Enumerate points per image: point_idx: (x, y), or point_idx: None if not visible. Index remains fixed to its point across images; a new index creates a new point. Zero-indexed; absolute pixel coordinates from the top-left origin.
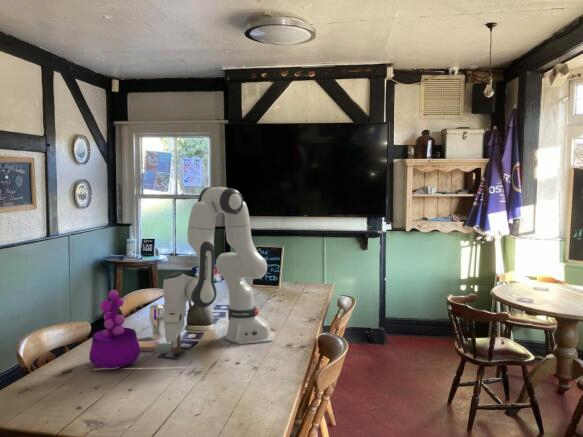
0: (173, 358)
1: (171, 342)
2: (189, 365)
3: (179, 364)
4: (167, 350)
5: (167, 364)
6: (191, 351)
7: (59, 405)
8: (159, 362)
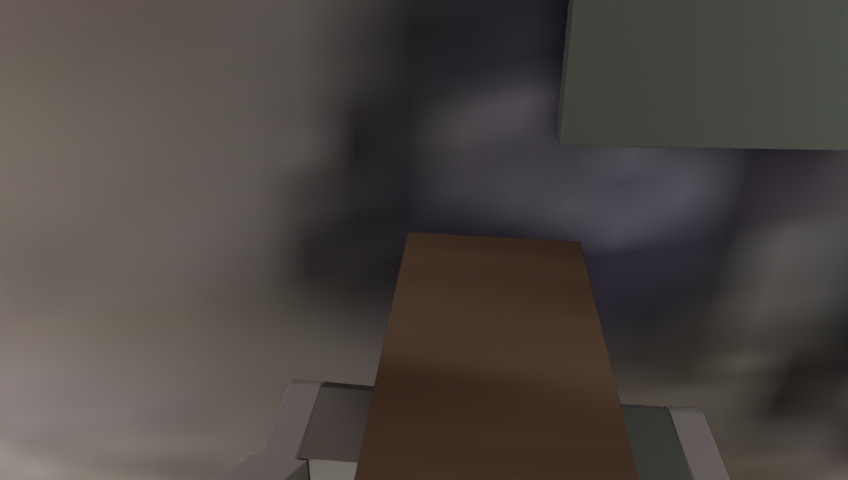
0: (340, 236)
1: (370, 412)
2: (91, 466)
3: (95, 352)
4: (739, 73)
5: (49, 178)
6: None
7: None
8: (109, 3)
